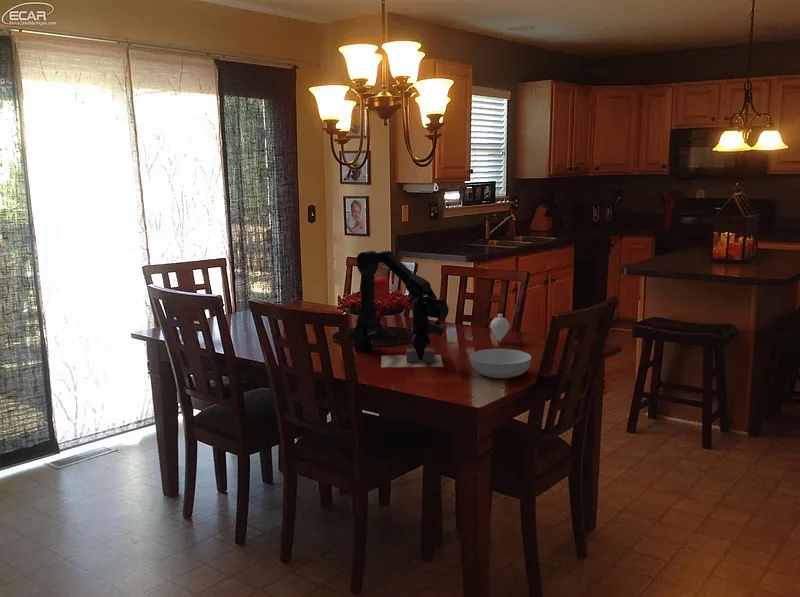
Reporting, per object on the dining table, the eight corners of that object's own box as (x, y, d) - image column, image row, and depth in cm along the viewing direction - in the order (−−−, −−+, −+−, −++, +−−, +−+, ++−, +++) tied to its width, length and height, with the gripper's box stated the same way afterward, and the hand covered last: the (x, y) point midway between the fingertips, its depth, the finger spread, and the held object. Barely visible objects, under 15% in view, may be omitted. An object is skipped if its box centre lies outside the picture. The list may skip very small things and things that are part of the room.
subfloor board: (381, 371, 254) (381, 367, 254) (381, 359, 270) (381, 355, 270) (443, 370, 255) (443, 366, 254) (440, 358, 271) (440, 354, 270)
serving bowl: (493, 363, 264) (493, 345, 263) (542, 374, 249) (543, 355, 248) (457, 375, 249) (457, 356, 248) (507, 388, 235) (507, 367, 234)
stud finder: (406, 362, 260) (406, 351, 259) (406, 359, 264) (406, 348, 264) (434, 362, 260) (434, 351, 259) (433, 358, 265) (433, 347, 264)
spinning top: (488, 344, 292) (489, 315, 290) (491, 340, 299) (492, 311, 297) (507, 345, 290) (508, 316, 288) (510, 341, 297) (511, 312, 295)
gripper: (444, 320, 250) (444, 364, 253) (441, 310, 268) (440, 351, 271) (412, 321, 250) (412, 364, 253) (410, 310, 268) (411, 351, 271)
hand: (420, 357), depth 262 cm, fingers closed on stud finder, 5 cm apart
